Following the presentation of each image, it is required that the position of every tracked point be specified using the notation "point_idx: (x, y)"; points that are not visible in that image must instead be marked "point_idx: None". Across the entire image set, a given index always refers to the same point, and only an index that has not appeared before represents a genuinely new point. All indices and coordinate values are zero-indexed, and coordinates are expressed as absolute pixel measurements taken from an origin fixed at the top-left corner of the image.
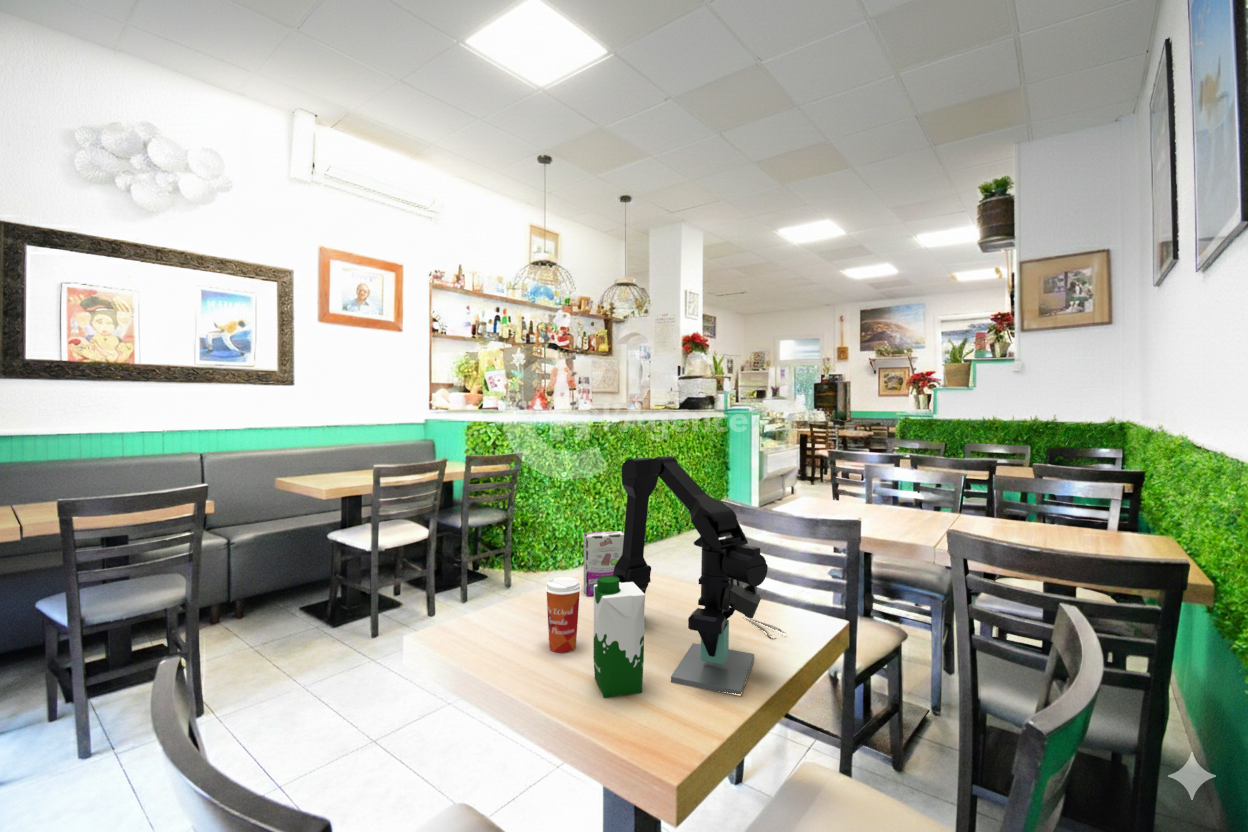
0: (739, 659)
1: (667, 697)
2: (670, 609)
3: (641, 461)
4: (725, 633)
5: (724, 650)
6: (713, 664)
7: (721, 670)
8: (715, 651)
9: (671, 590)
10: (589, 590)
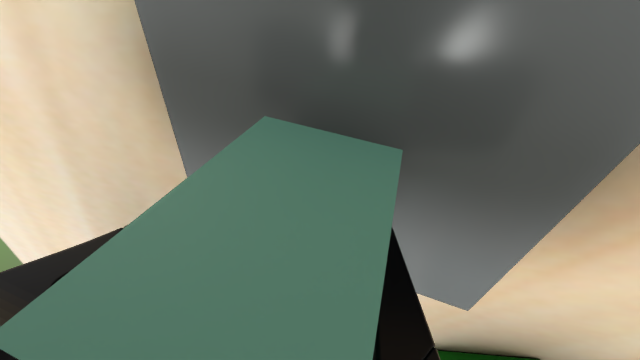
0: (230, 35)
1: (596, 321)
2: (73, 225)
3: None
4: (286, 325)
5: (372, 200)
6: None
7: (389, 140)
8: (396, 252)
9: (7, 213)
10: None
